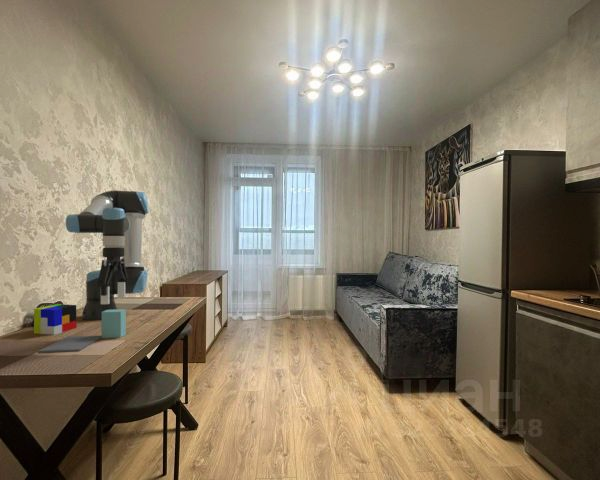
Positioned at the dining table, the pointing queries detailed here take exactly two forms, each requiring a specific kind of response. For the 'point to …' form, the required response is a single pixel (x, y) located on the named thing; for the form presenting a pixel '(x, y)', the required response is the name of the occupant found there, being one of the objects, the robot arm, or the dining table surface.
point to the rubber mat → (71, 344)
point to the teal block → (113, 323)
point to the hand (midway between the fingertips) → (113, 300)
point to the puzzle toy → (54, 319)
